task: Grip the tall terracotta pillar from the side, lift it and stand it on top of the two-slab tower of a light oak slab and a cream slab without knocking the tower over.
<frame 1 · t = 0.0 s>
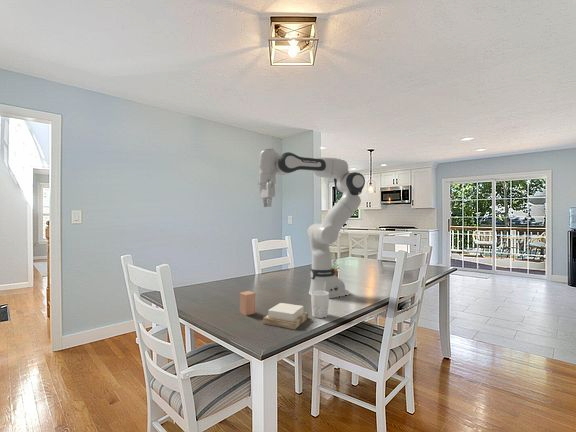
hand: (267, 206, 157), 48 cm above the table, tool pointing down, fingers open, 8 cm apart
terracotta pillar: (247, 312, 135), on the table
white cup: (319, 316, 131), on the table
cream slab: (286, 315, 125), point 2 cm above the table, touching oak slab
oak slab: (286, 322, 125), on the table, touching cream slab
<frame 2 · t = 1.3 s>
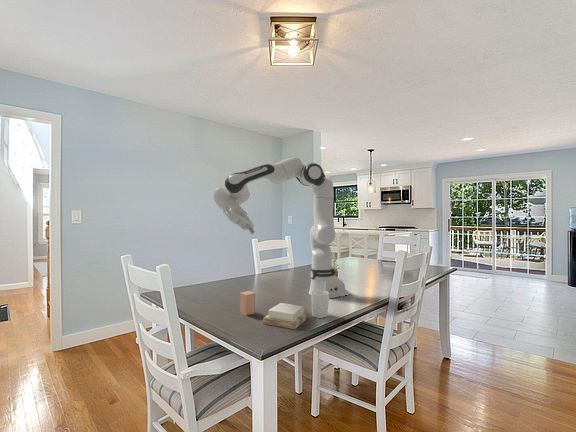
hand: (249, 231, 147), 36 cm above the table, tool tilted 50°, fingers open, 8 cm apart
cream slab: (286, 315, 125), point 2 cm above the table
oak slab: (286, 322, 125), on the table
everything else where it was.
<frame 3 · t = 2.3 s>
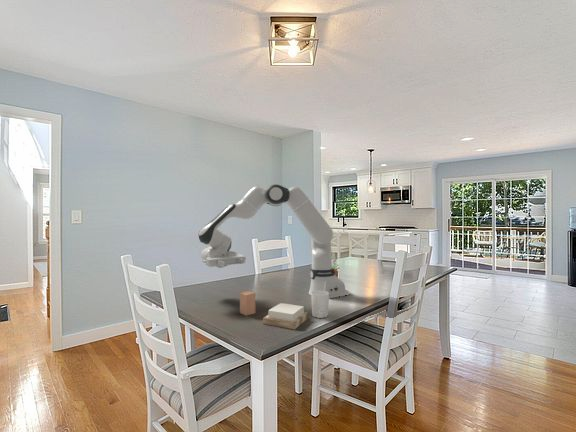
hand: (233, 263, 144), 21 cm above the table, tool horizontal, fingers open, 8 cm apart
cream slab: (286, 315, 125), point 2 cm above the table, touching oak slab
oak slab: (286, 322, 125), on the table, touching cream slab
everything else where it was.
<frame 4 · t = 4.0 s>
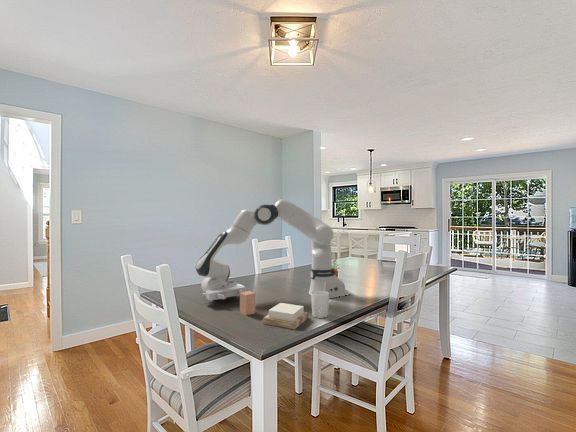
hand: (233, 295, 144), 5 cm above the table, tool horizontal, fingers open, 8 cm apart
nothing on the table moved.
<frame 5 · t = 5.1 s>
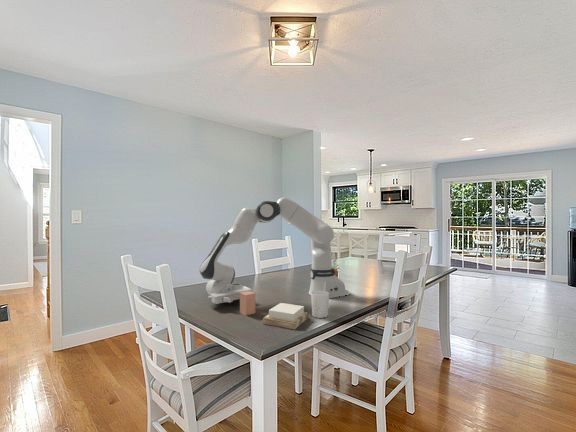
hand: (240, 298, 140), 5 cm above the table, tool horizontal, fingers open, 8 cm apart
nothing on the table moved.
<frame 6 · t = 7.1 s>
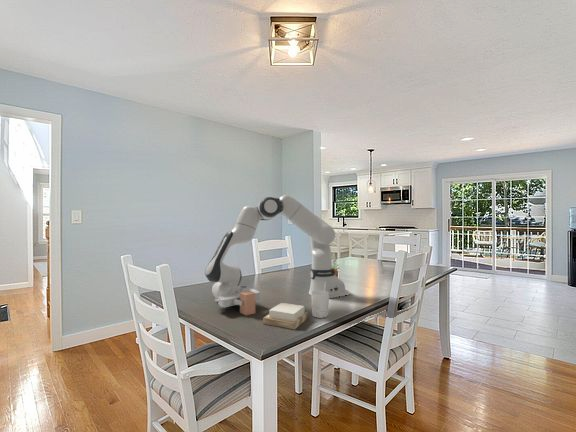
hand: (248, 302, 134), 5 cm above the table, tool horizontal, fingers closed on terracotta pillar, 5 cm apart
terracotta pillar: (247, 312, 135), on the table, touching gripper
cream slab: (287, 315, 125), point 2 cm above the table
oak slab: (285, 322, 125), on the table
everything else where it was.
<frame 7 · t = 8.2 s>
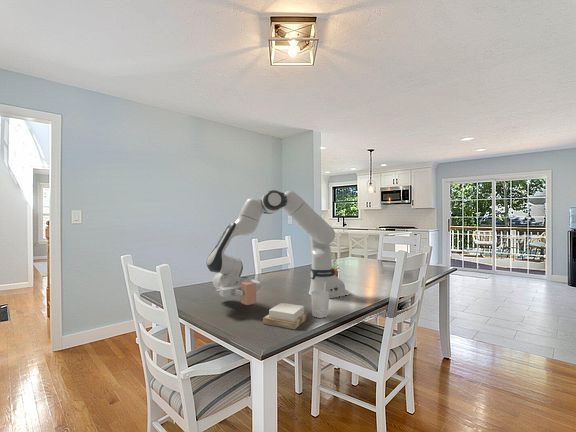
hand: (249, 291, 134), 10 cm above the table, tool horizontal, fingers closed on terracotta pillar, 5 cm apart
terracotta pillar: (248, 302, 135), point 5 cm above the table, touching gripper
cream slab: (286, 315, 125), point 2 cm above the table, touching oak slab
oak slab: (285, 322, 125), on the table, touching cream slab
everything else where it was.
when the fingers open (12 cm above the table, at t = 13.5 s): terracotta pillar drops 2 cm, point 5 cm above the table.
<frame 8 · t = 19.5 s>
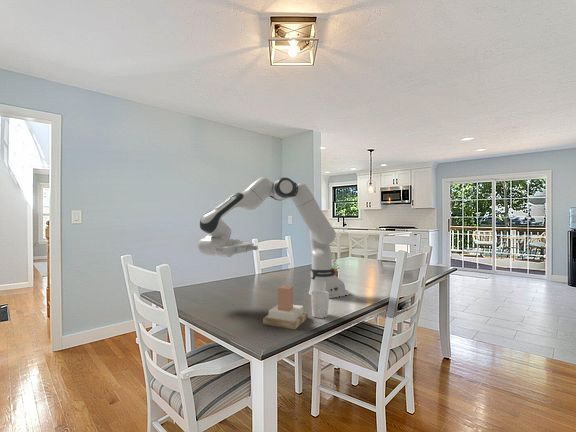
hand: (251, 249, 139), 28 cm above the table, tool horizontal, fingers open, 8 cm apart
terracotta pillar: (285, 308, 125), point 5 cm above the table
everything else where it was.
at the end: terracotta pillar 0.3 cm off-centre on the oak slab, point 6.0 cm above the oak slab's base; terracotta pillar tilted 1°; cream slab moved 0.8 cm from its start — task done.
